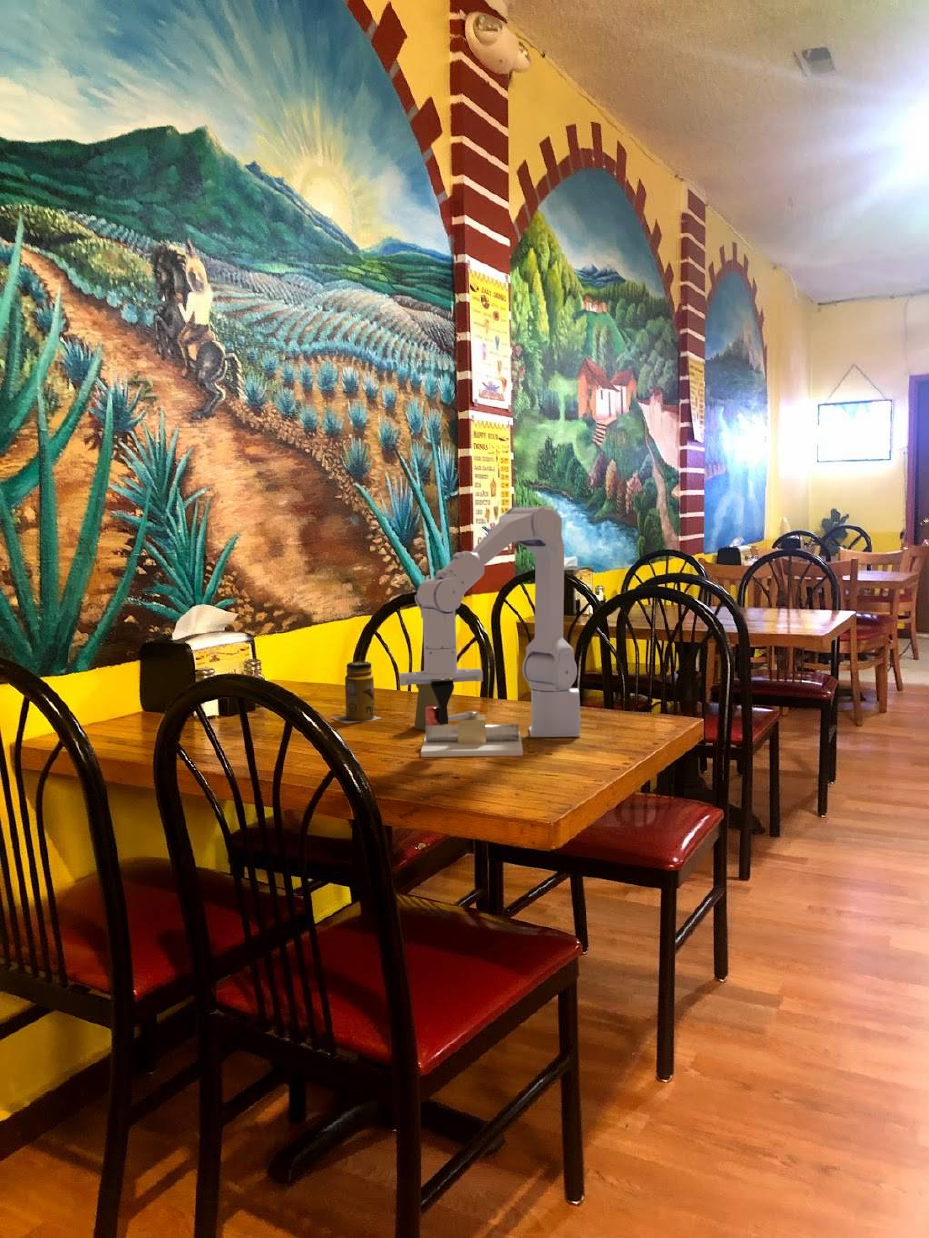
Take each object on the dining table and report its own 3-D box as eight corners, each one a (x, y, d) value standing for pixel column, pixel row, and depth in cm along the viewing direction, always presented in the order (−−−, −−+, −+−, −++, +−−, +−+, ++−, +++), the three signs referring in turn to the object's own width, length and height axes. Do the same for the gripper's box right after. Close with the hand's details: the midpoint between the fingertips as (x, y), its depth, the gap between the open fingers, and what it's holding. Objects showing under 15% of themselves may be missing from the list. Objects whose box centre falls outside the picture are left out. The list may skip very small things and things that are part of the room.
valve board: (519, 736, 186) (519, 731, 185) (522, 755, 171) (522, 749, 171) (426, 738, 186) (426, 732, 186) (421, 756, 171) (420, 751, 171)
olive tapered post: (440, 730, 193) (439, 675, 192) (411, 729, 194) (409, 675, 193) (447, 723, 199) (445, 670, 198) (418, 723, 200) (417, 670, 199)
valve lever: (472, 715, 179) (472, 699, 179) (481, 717, 178) (480, 700, 177) (423, 724, 172) (422, 707, 172) (431, 726, 170) (431, 709, 170)
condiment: (382, 719, 205) (380, 663, 204) (347, 724, 200) (345, 667, 199) (365, 713, 211) (363, 659, 210) (330, 719, 206) (328, 663, 205)
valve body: (518, 737, 181) (517, 714, 180) (518, 743, 176) (518, 719, 175) (427, 738, 181) (426, 715, 180) (425, 744, 176) (424, 721, 175)
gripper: (477, 642, 174) (479, 716, 176) (396, 646, 172) (399, 721, 174) (483, 647, 168) (486, 724, 169) (400, 651, 165) (403, 729, 167)
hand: (442, 723), depth 171 cm, fingers closed, pressing on valve lever
